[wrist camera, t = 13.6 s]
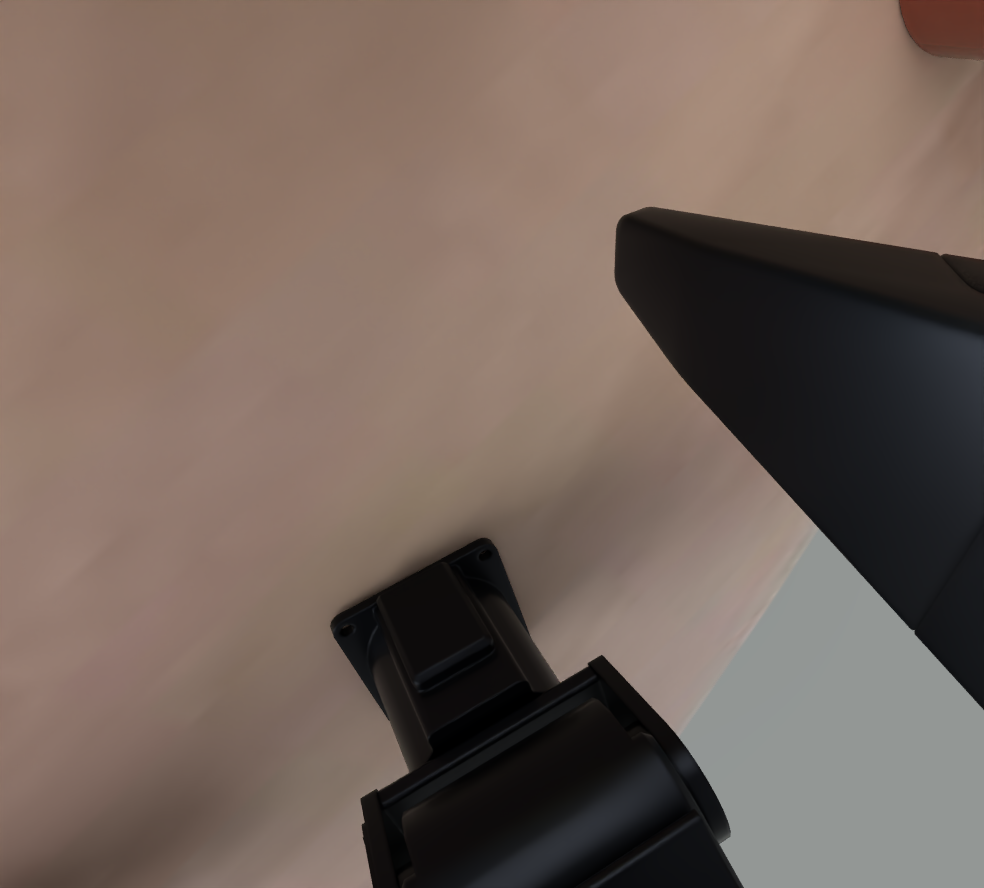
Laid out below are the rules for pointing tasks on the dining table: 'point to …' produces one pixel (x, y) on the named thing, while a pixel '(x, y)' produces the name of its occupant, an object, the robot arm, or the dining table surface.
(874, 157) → the dining table surface
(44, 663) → the dining table surface
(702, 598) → the dining table surface
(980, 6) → the sugar pot
